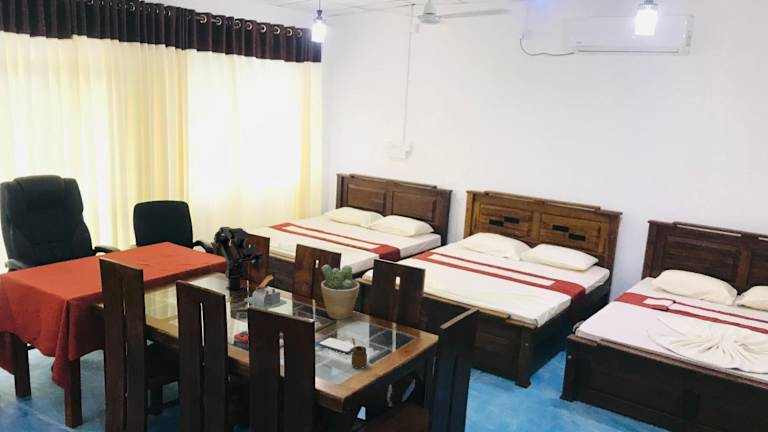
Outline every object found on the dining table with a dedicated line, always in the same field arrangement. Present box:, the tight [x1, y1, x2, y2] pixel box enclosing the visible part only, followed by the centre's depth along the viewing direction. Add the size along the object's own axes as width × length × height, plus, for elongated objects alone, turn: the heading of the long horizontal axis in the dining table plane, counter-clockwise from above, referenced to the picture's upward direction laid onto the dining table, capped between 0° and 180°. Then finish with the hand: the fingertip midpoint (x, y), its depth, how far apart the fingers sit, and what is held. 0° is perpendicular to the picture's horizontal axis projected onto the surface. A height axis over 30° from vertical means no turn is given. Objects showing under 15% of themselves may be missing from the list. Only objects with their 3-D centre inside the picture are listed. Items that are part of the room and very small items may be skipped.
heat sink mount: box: [243, 285, 287, 310], centre depth 288 cm, size 17×13×7 cm
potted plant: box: [320, 264, 360, 320], centre depth 272 cm, size 18×19×25 cm
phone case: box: [317, 337, 359, 355], centre depth 237 cm, size 9×2×16 cm
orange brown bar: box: [257, 274, 274, 290], centre depth 286 cm, size 12×3×2 cm
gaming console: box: [233, 330, 249, 344], centre depth 249 cm, size 24×2×10 cm
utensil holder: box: [351, 337, 368, 369], centre depth 220 cm, size 6×6×12 cm
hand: (253, 274), depth 292 cm, fingers open, 7 cm apart
